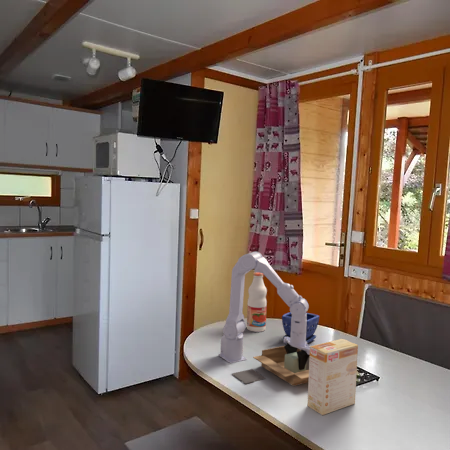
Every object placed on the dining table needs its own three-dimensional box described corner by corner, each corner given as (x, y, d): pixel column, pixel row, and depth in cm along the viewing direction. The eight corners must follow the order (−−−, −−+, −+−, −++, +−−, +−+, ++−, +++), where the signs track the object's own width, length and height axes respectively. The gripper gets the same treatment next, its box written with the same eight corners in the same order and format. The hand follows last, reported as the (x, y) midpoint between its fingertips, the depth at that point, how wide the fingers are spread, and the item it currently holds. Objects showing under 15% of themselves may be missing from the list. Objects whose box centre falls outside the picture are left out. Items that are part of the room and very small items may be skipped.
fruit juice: (257, 325, 214) (259, 270, 212) (269, 330, 207) (271, 273, 205) (242, 328, 209) (244, 272, 207) (254, 333, 201) (257, 275, 199)
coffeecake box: (339, 394, 141) (342, 338, 140) (356, 404, 135) (359, 344, 134) (306, 405, 133) (308, 345, 132) (322, 416, 127) (325, 353, 126)
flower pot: (293, 333, 203) (294, 309, 202) (319, 340, 195) (320, 314, 194) (279, 341, 192) (281, 315, 191) (306, 347, 184) (308, 321, 183)
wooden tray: (252, 368, 160) (253, 351, 160) (299, 358, 172) (299, 342, 172) (291, 393, 141) (292, 375, 140) (341, 380, 152) (342, 362, 152)
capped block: (284, 369, 159) (284, 354, 159) (300, 366, 163) (301, 351, 163) (292, 375, 155) (293, 359, 154) (309, 371, 159) (309, 355, 158)
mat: (231, 374, 154) (231, 373, 154) (252, 369, 159) (252, 368, 159) (245, 384, 147) (245, 383, 146) (266, 379, 151) (266, 378, 151)
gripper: (320, 335, 154) (318, 371, 155) (294, 324, 166) (292, 358, 167) (305, 338, 150) (303, 375, 151) (279, 326, 163) (278, 361, 164)
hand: (296, 366), depth 159 cm, fingers closed on capped block, 5 cm apart
